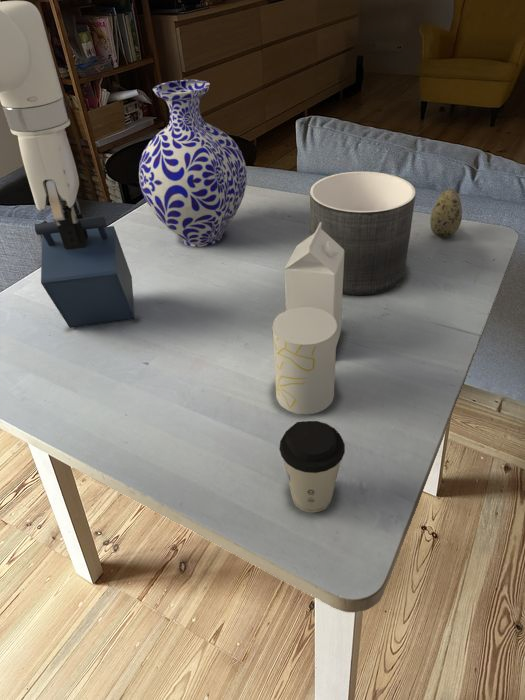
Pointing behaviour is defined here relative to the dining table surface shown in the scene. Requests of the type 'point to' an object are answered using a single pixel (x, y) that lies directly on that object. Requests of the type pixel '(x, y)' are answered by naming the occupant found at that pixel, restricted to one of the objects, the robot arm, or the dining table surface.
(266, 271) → the dining table surface
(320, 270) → the milk carton
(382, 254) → the planter
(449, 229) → the decorative egg
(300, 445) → the coffee cup
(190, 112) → the vase
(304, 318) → the cup
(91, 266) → the blue drawer with handle
